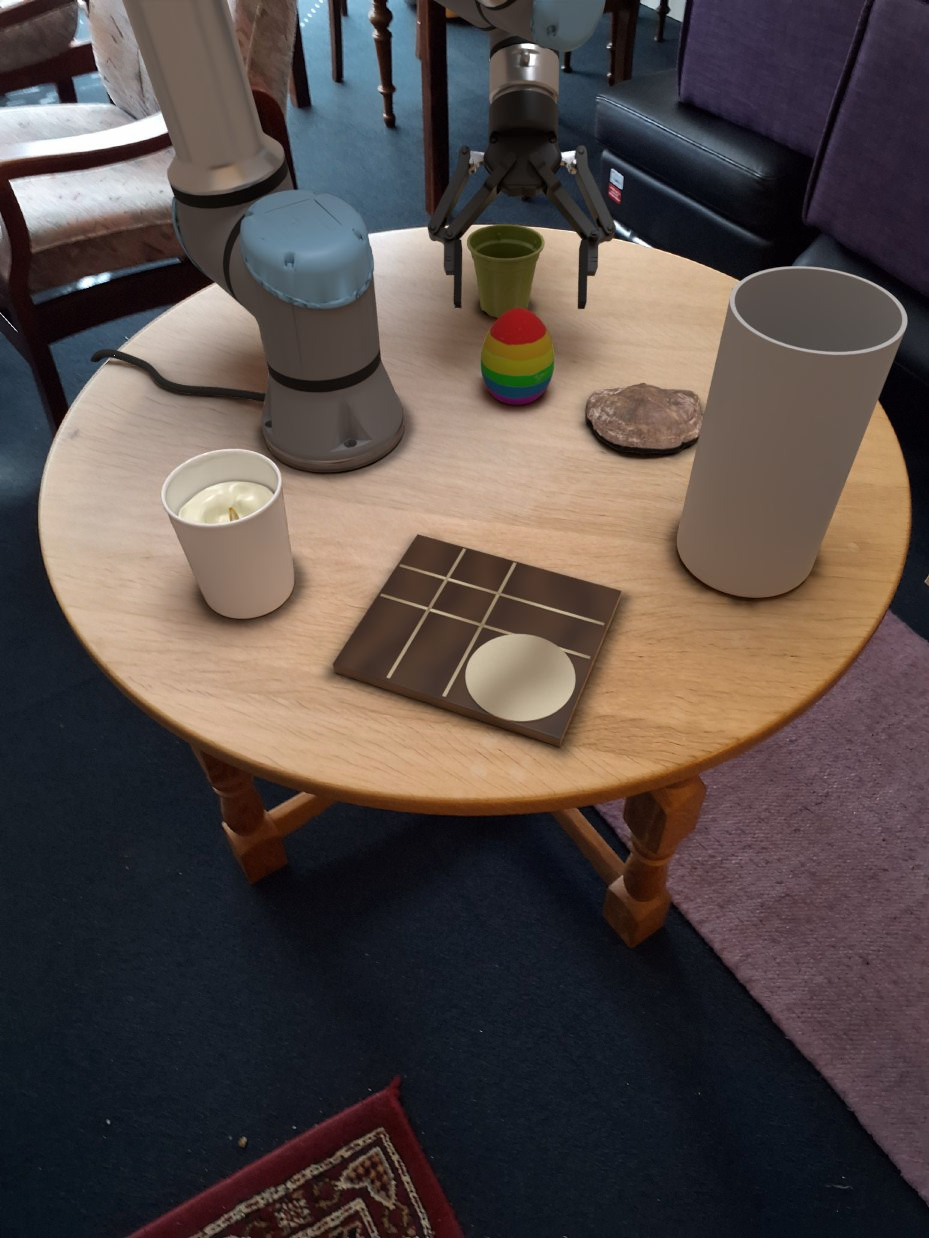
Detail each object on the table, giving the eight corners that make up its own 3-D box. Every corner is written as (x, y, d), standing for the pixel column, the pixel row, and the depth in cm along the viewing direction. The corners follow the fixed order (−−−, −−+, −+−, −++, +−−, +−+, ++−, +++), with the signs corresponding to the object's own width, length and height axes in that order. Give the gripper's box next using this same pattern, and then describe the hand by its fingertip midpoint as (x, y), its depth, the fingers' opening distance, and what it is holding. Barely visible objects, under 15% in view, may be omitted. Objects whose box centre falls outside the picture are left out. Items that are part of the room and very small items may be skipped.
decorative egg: (559, 408, 100) (565, 327, 92) (487, 416, 99) (487, 335, 92) (543, 368, 105) (548, 288, 98) (475, 375, 104) (474, 295, 97)
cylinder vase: (662, 582, 82) (716, 336, 63) (688, 497, 89) (743, 256, 71) (803, 616, 79) (903, 368, 60) (817, 525, 86) (910, 281, 68)
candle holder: (318, 557, 85) (298, 456, 76) (280, 634, 78) (254, 533, 69) (221, 542, 86) (191, 441, 77) (177, 616, 80) (139, 516, 71)
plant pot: (472, 287, 118) (472, 221, 112) (543, 290, 117) (547, 225, 111) (462, 324, 112) (461, 257, 106) (537, 328, 111) (541, 261, 105)
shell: (707, 461, 93) (714, 433, 90) (585, 456, 94) (588, 428, 91) (698, 397, 101) (704, 369, 98) (585, 392, 102) (588, 365, 99)
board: (334, 672, 75) (332, 662, 74) (418, 543, 86) (417, 532, 85) (559, 747, 70) (560, 737, 69) (620, 599, 80) (622, 589, 79)
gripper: (404, 86, 93) (402, 294, 94) (645, 85, 92) (639, 295, 93) (411, 122, 101) (409, 314, 102) (634, 121, 100) (629, 315, 101)
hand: (519, 305), depth 98 cm, fingers open, 13 cm apart
